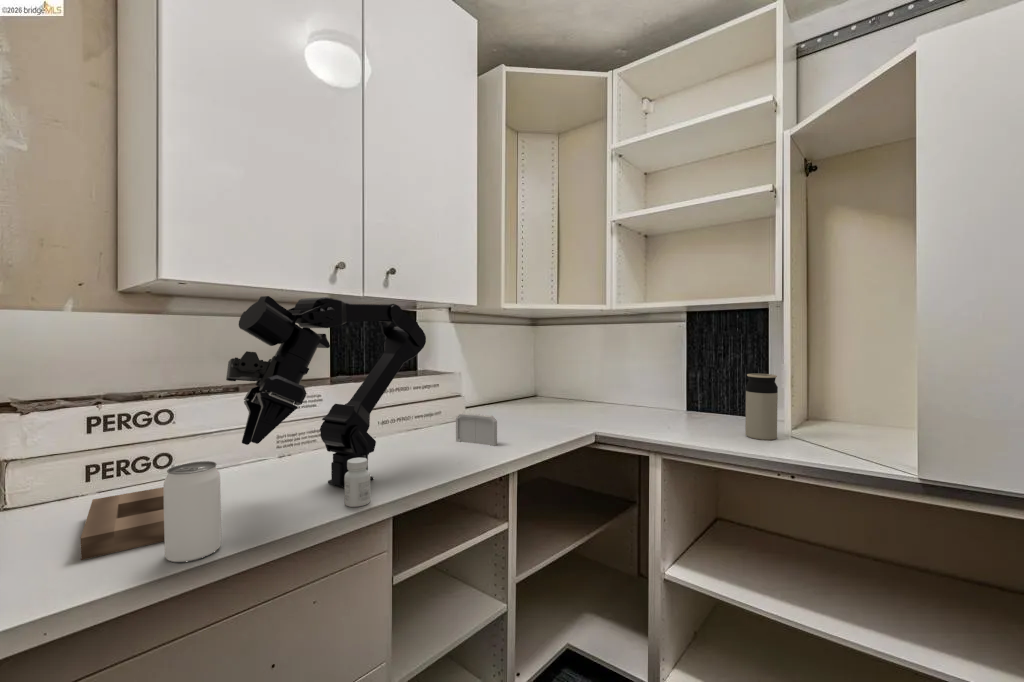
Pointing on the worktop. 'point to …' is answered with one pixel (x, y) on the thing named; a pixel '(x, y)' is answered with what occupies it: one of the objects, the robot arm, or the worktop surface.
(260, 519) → the worktop surface
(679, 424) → the worktop surface
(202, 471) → the can
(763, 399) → the travel mug
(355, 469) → the pill bottle
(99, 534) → the socket block
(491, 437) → the gray double door
